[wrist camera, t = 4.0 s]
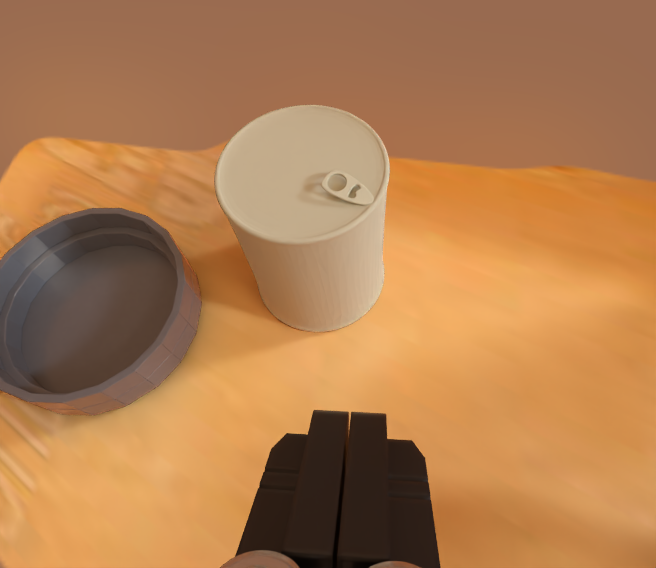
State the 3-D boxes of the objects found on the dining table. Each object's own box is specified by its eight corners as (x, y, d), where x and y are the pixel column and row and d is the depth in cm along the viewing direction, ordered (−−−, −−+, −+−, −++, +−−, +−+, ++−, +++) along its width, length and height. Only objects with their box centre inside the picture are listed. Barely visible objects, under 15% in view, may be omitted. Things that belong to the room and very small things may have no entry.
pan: (120, 209, 39) (95, 177, 36) (242, 301, 34) (227, 275, 31) (-25, 337, 35) (-69, 315, 31) (92, 462, 30) (55, 452, 27)
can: (340, 357, 32) (326, 270, 21) (232, 293, 35) (172, 189, 24) (407, 253, 35) (424, 133, 25) (303, 203, 38) (278, 75, 27)
